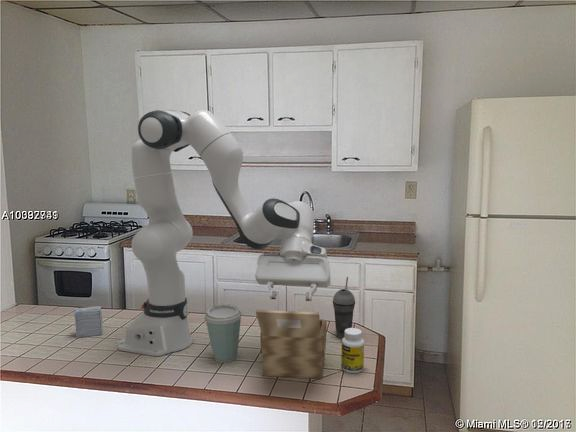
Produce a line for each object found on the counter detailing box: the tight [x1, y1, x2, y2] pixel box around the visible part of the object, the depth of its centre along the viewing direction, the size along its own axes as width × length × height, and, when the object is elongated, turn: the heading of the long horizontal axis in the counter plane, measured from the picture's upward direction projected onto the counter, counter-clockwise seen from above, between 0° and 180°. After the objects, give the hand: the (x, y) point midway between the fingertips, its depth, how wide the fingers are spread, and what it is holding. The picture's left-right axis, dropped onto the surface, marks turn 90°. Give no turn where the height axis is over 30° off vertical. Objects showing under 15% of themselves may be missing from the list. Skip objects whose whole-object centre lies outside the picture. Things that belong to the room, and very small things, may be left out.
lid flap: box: [255, 309, 321, 338], centre depth 123 cm, size 16×12×1 cm
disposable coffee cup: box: [204, 303, 242, 364], centre depth 140 cm, size 11×11×15 cm
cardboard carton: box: [259, 318, 327, 380], centre depth 135 cm, size 17×12×12 cm
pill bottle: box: [340, 327, 365, 374], centre depth 133 cm, size 6×6×11 cm
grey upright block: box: [74, 305, 104, 339], centre depth 159 cm, size 8×4×9 cm, turn 108°
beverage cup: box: [332, 276, 356, 340], centre depth 155 cm, size 7×7×20 cm
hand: (290, 299), depth 127 cm, fingers open, 8 cm apart
